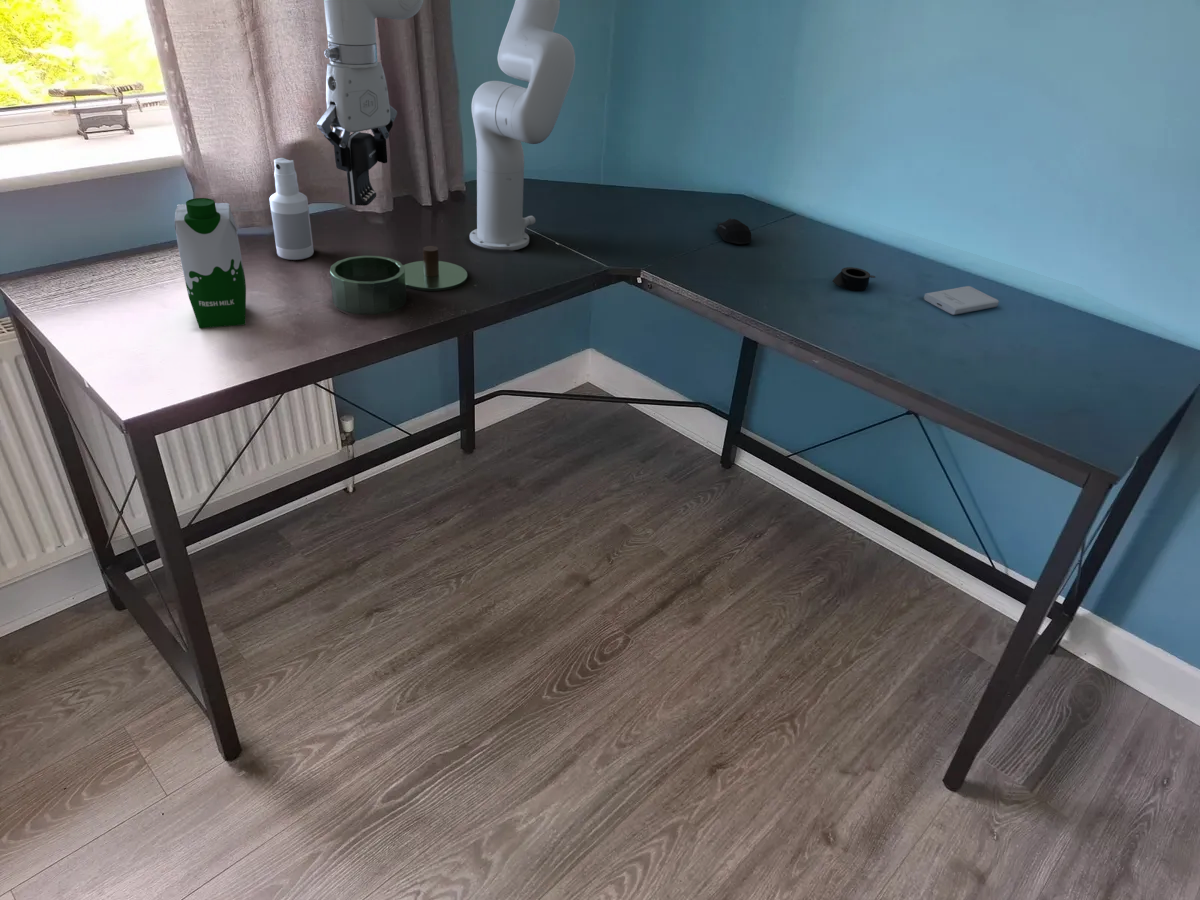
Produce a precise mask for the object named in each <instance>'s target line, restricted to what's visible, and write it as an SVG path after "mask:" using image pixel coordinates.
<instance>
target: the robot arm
mask: <svg viewBox="0 0 1200 900" xmlns="http://www.w3.org/2000/svg"><path fill="white" fill-rule="evenodd" d="M423 3H424V0H323V7H324V8H323V9H324V17H325V26H326V27H325V28H326V38H327V48H326V49H324V51H323V54H324V56H325V58H326V59H329V63H327V64H326V65H327V66H326V73H325V74H326V75H325V100H326V110H325V112H324V113H323V114H322V115H321V117H320V118H319V120H318V121H317V123H316V127H317V129H318V131H320V132H321V133H322V134H323V137H324V138H325V139H326V140H327V141H328V142H329V143H330V145H332V146H333V151H334V161H335V167H336V169H337V170H340V171H343V172H346V173H347V172H350V171H351V170H352V167H351V156H350V149H349V147H346V145H347V142H348V139H349V136H350V135H351V133H354V132H364V131H369V130H370V131H371V134H372V135H373V136H374V138H375V141H376V148H377V157H378V161H377V163H378V162H379V163H381V164H387V163H388V149H387V148H388V147H387V140H388V139H389V138H390V131H391V130H392V128H393V126H394V122H395V119H396V118H397V115H398V111H397V110H396V109H395V108H394V107H393V106H392V105H390V97H389V91H388V84H387V83H388V82H387V79H386V74H385V71H384V67H383V64H382V62H380V61H379V60H378V48H377V47H378V45H377V35H376V34H377V32H376V18H379V19H380V18H381V19H389V20H400V21H402V20H408V19H410V18H412V17H414V16H415V15H417V14H418V13H419V11H420V10H421V8H422V6H423ZM560 7H561V2H560V0H514V4H513V7H512V10H511V13H510V16H509V19H508V22H507V24H506V27H505V30H504V32H503V35H502V38H501V40H500V44H499V47H498V51H497V64H498V68H499V69H500V70H501V72H502V73H504V74H505V75H507V76H508V77H510V78H512V79H515V80H519V81H522V82H526V83H528V84H527V87H523V86H520V85H519V84H518V85H517V84H513V83H510V82H506V81H501V80H488V81H485V82H483V83H482V84H480V85H479V86H478V87H477V88H476V90H475V92H474V93H473V96H472V99H471V106H470V107H471V117H472V123H473V128H474V133H475V142H476V143H475V144H476V228H475V229H474V230H472V231H471V232H469V240H470V242H471V243H473V244H474V245H476V246H478V247H481V248H485V249H490V250H500V251H502V250H506V251H507V250H508V251H518V250H520V249H521V250H522V249H524V248H526V247H527V246H528V245H529V243H530V236H529V235H528V233H526V232H525V230H526V228H527V227H530V226H532V225H535V224H536V217H535V216H533V215H528V216H526V217H523V215H524V214H523V213H524V179H525V154H524V148H523V145H522V143H525V144H529V145H539V144H542V143H543V142H545V141H546V140H547V139H548V137H549V136H550V135H551V134H552V132H553V130H554V127H555V125H556V123H557V121H558V118H559V115H560V113H561V111H562V108H563V105H564V102H565V99H566V97H567V95H568V91H569V89H570V86H571V84H572V81H573V78H574V74H575V71H576V53H575V48H574V46H573V44H572V42H571V41H570V40H569V39H568V38H567V37H566V36H564V35H563V34H560V33H558V32H555V31H554V30H555V27H556V24H557V21H558V18H559V14H560ZM331 127H332V128H333V129H332V128H331Z"/></svg>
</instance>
